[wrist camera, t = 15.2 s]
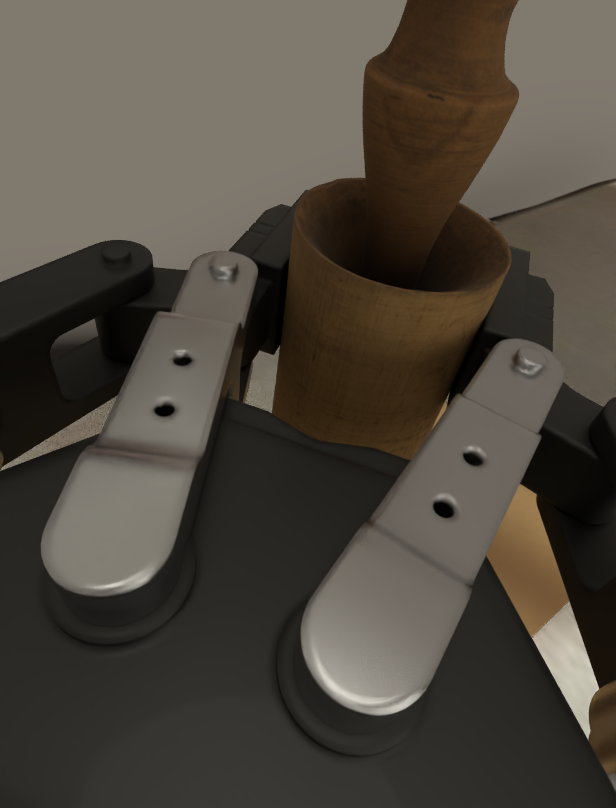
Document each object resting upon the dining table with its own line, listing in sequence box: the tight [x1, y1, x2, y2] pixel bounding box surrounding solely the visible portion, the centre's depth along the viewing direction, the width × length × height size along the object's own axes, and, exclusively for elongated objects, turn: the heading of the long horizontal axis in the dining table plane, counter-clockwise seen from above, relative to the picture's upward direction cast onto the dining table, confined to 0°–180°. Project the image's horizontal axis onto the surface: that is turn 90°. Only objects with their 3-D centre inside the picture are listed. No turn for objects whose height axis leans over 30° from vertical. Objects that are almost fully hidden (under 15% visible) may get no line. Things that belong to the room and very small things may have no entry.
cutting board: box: [432, 402, 569, 637], centre depth 21 cm, size 20×14×2 cm
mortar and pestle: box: [272, 0, 519, 460], centre depth 11 cm, size 7×6×18 cm
